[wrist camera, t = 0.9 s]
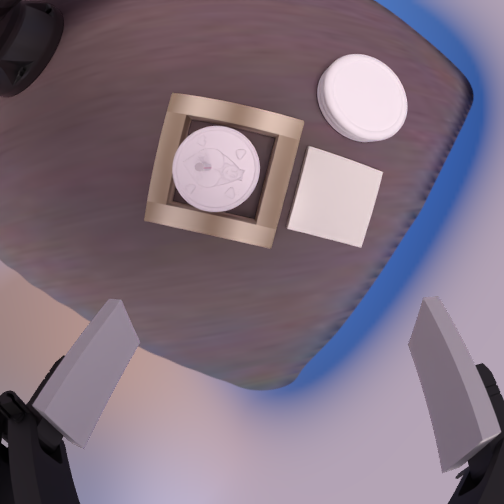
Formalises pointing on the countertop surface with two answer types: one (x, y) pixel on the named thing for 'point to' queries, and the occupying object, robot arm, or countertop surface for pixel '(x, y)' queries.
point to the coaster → (362, 98)
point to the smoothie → (216, 168)
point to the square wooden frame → (274, 184)
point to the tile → (334, 197)
